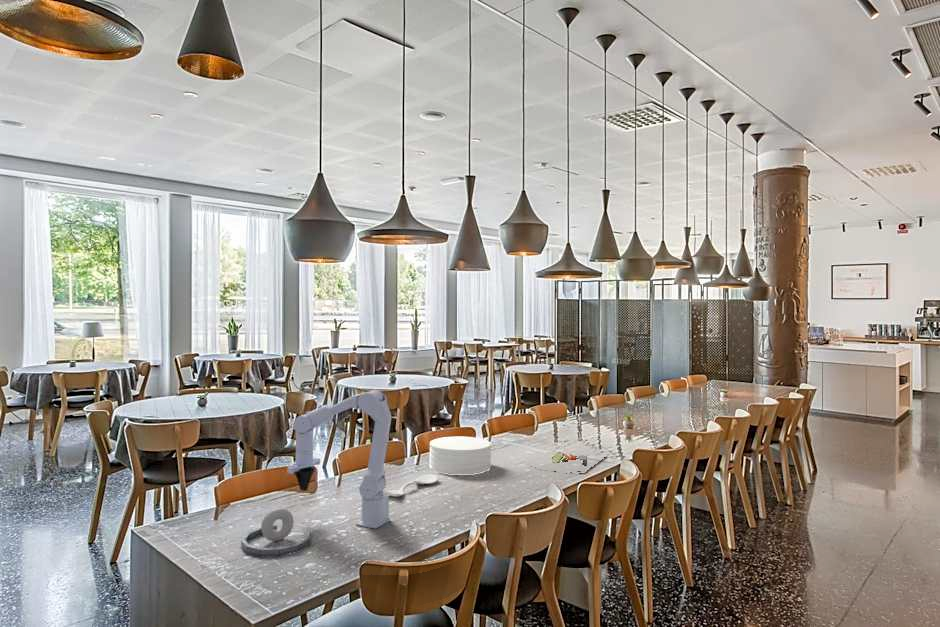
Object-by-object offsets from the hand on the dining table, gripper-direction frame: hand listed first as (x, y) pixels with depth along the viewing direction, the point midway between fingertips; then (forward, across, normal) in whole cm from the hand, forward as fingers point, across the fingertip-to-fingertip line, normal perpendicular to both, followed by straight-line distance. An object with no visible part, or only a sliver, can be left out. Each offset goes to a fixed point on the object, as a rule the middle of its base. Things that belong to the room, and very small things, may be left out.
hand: (303, 489), depth 203 cm
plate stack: (+10, -84, +19) cm, 87 cm away
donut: (+10, +20, +7) cm, 23 cm away
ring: (+9, +22, +8) cm, 26 cm away
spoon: (+10, -45, +16) cm, 49 cm away
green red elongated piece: (+10, -120, +60) cm, 135 cm away
